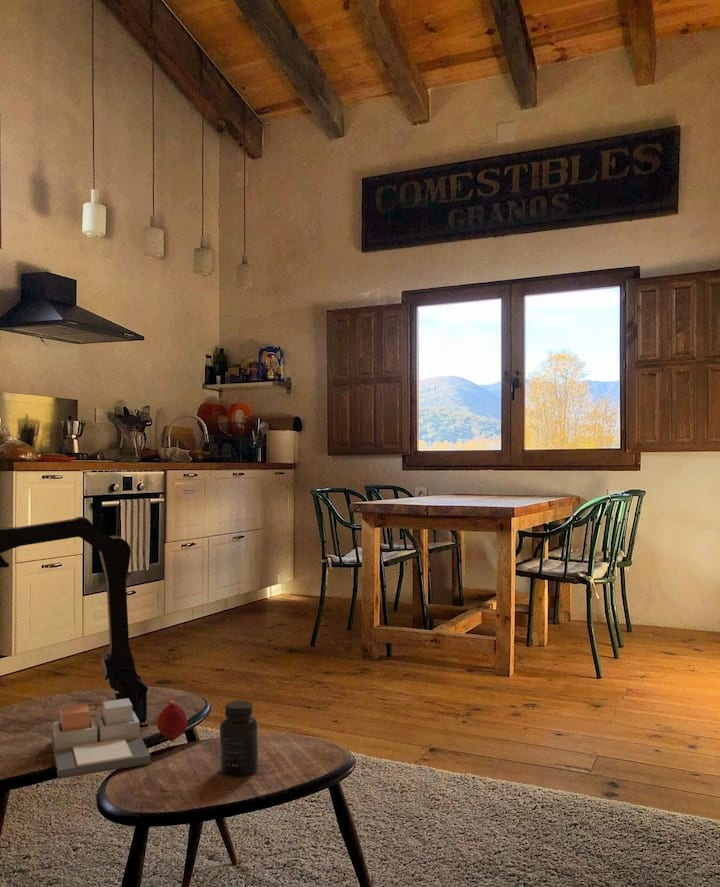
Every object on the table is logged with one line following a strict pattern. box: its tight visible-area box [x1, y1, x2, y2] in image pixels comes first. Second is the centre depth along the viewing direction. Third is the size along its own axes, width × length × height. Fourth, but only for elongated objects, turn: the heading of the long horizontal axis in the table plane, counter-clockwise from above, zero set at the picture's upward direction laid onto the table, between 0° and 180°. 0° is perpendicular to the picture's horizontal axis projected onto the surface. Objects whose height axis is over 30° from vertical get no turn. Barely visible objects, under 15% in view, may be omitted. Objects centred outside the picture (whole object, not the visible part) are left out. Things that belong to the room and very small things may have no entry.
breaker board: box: [50, 711, 152, 780], centre depth 150 cm, size 16×19×4 cm
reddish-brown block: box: [59, 703, 91, 732], centre depth 153 cm, size 5×5×4 cm
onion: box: [156, 700, 188, 742], centre depth 157 cm, size 6×6×8 cm
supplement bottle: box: [219, 699, 259, 778], centre depth 142 cm, size 7×7×12 cm
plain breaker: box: [102, 698, 132, 726], centre depth 156 cm, size 5×5×4 cm
